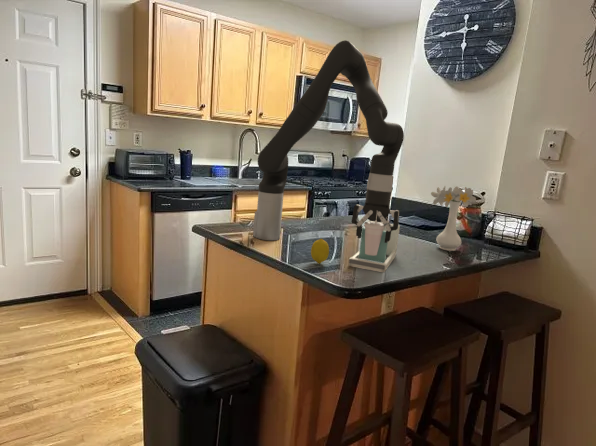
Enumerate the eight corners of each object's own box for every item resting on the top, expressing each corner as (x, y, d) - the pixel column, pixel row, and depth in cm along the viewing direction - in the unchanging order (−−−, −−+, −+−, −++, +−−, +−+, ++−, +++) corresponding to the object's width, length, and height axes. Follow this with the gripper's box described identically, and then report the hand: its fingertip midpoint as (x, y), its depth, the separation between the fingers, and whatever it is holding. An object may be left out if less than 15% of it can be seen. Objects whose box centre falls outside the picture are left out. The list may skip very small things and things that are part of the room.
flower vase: (435, 241, 180) (444, 182, 175) (475, 253, 165) (487, 189, 161) (415, 244, 172) (425, 182, 167) (456, 256, 158) (468, 189, 153)
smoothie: (369, 257, 130) (374, 212, 127) (356, 251, 136) (361, 208, 133) (385, 256, 133) (391, 212, 131) (372, 250, 139) (378, 208, 136)
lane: (348, 266, 132) (352, 231, 130) (364, 250, 154) (368, 220, 152) (383, 272, 129) (388, 237, 126) (395, 256, 150) (399, 225, 148)
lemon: (322, 267, 128) (324, 241, 127) (306, 263, 131) (308, 238, 129) (330, 264, 133) (333, 239, 131) (315, 260, 136) (317, 235, 134)
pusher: (358, 258, 139) (362, 228, 137) (359, 257, 140) (363, 227, 138) (384, 262, 136) (388, 232, 134) (385, 262, 137) (389, 231, 135)
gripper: (404, 191, 132) (397, 241, 135) (359, 185, 137) (353, 234, 140) (401, 192, 125) (393, 246, 128) (353, 186, 130) (347, 238, 133)
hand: (372, 240), depth 134 cm, fingers open, 8 cm apart
